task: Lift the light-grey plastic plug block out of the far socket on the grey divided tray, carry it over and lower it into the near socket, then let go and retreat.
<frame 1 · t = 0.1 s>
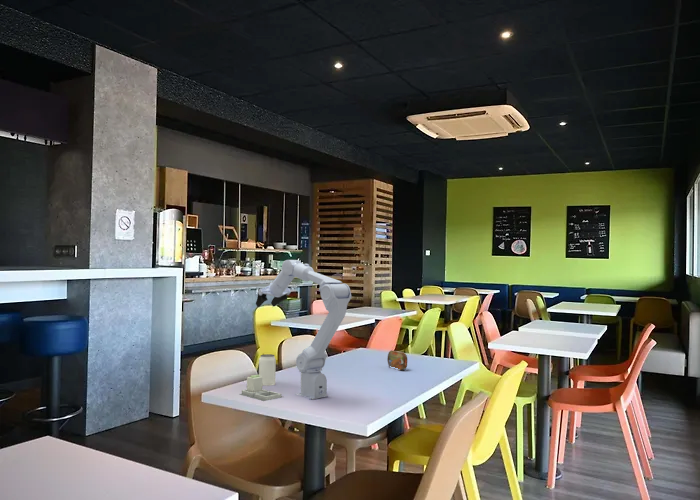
hand: (264, 304, 219), 32 cm above the table, tool tilted 50°, fingers open, 7 cm apart
tin: (397, 369, 256), on the table
can: (267, 386, 217), on the table
grey divided tray: (261, 397, 196), on the table
plug: (254, 393, 199), point 1 cm above the table, touching grey divided tray
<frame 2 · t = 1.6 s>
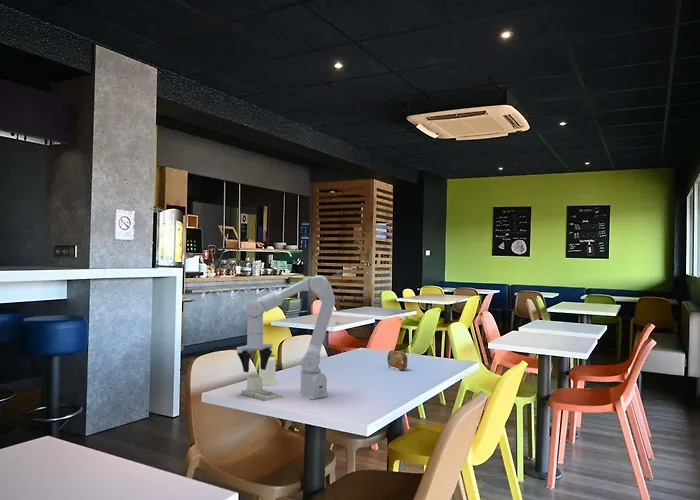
hand: (254, 370, 200), 9 cm above the table, tool pointing down, fingers open, 7 cm apart
nothing on the table moved.
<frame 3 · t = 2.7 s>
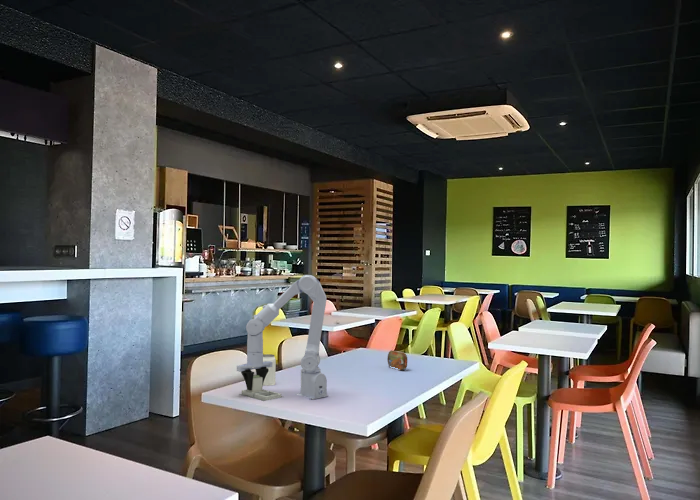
hand: (254, 389, 199), 2 cm above the table, tool pointing down, fingers closed on plug, 4 cm apart
plug: (254, 393, 199), point 1 cm above the table, touching gripper, grey divided tray
everything else where it was.
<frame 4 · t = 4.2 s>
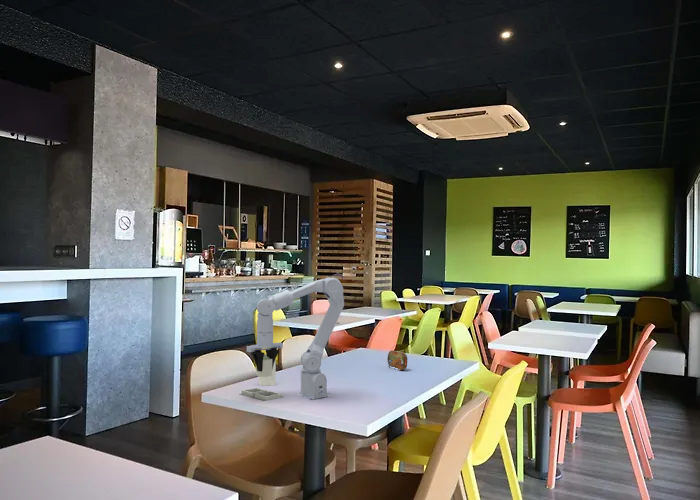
hand: (264, 370, 196), 10 cm above the table, tool pointing down, fingers closed on plug, 4 cm apart
plug: (264, 375, 196), point 8 cm above the table, touching gripper
everything else where it was.
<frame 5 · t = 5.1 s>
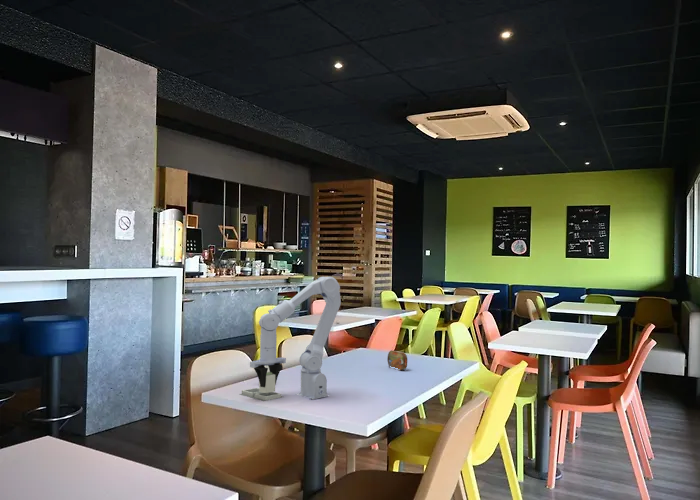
hand: (267, 385, 194), 5 cm above the table, tool pointing down, fingers closed on plug, 4 cm apart
plug: (267, 391, 194), point 3 cm above the table, touching gripper
everything else where it was.
when the fingers open (3 cm above the table, at t = 5.7 s): plug stays where it is, resting on grey divided tray.
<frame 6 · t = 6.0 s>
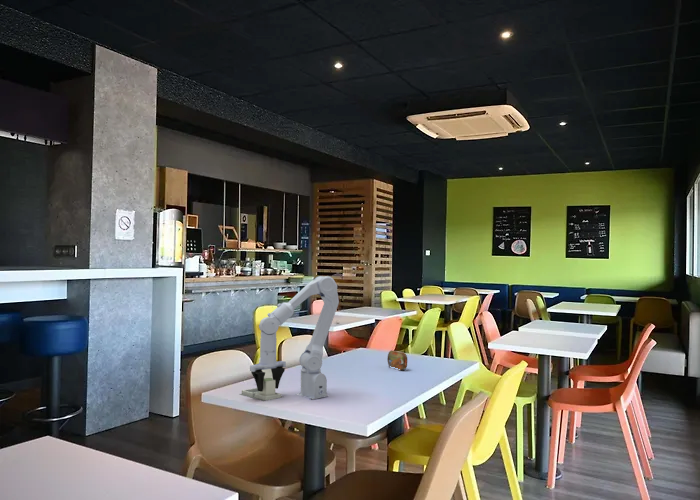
hand: (268, 389, 194), 3 cm above the table, tool pointing down, fingers open, 6 cm apart
plug: (267, 397, 194), point 1 cm above the table, touching grey divided tray
everything else where it was.
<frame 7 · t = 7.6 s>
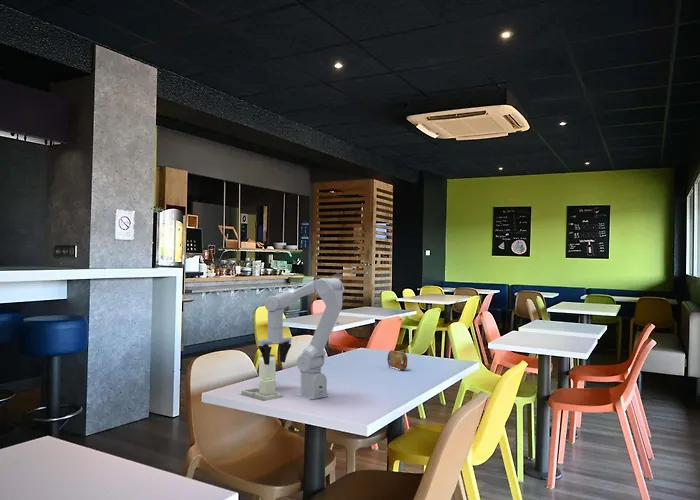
hand: (274, 363, 207), 10 cm above the table, tool pointing down, fingers open, 7 cm apart
nothing on the table moved.
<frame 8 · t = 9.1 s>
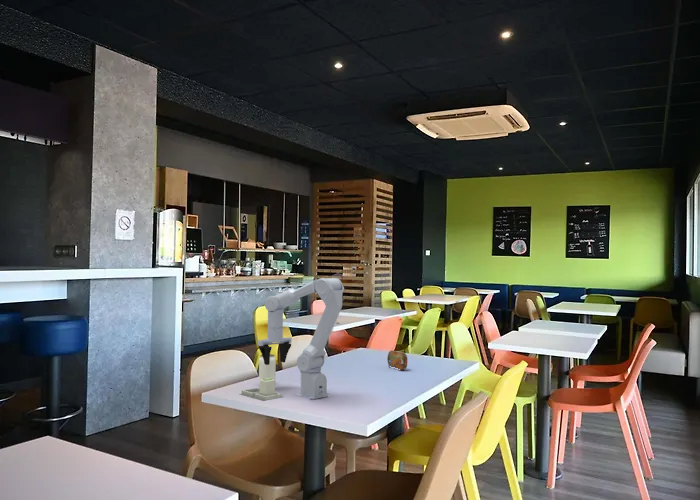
hand: (274, 363, 208), 10 cm above the table, tool pointing down, fingers open, 7 cm apart
nothing on the table moved.
at the end: plug 0.3 cm from the target spot, point 0.6 cm above the table; plug tilted 0°; the gripper is holding nothing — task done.
